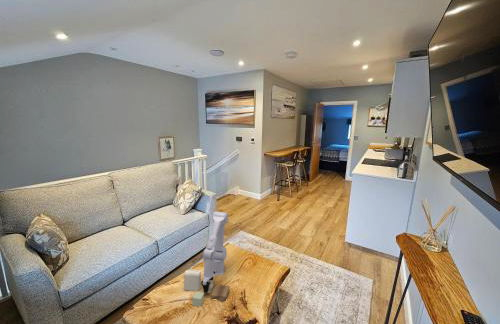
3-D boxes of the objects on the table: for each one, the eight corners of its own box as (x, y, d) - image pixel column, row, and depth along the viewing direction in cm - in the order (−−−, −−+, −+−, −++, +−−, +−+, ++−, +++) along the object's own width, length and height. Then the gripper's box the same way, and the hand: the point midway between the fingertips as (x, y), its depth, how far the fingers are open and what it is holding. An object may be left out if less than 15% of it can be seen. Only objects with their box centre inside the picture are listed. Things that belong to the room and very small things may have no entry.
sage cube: (192, 305, 114) (192, 297, 114) (195, 299, 119) (196, 291, 119) (200, 307, 114) (200, 299, 113) (203, 300, 119) (204, 292, 118)
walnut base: (210, 300, 119) (210, 295, 119) (215, 289, 128) (215, 284, 128) (225, 301, 118) (225, 296, 117) (229, 290, 127) (229, 286, 126)
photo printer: (183, 290, 125) (183, 272, 124) (185, 285, 130) (185, 267, 128) (199, 291, 125) (200, 272, 124) (201, 286, 130) (201, 268, 128)
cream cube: (202, 292, 125) (203, 284, 124) (205, 286, 130) (205, 279, 129) (210, 293, 124) (210, 286, 124) (213, 287, 129) (213, 280, 129)
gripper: (211, 275, 118) (210, 297, 119) (218, 261, 132) (217, 280, 134) (199, 274, 119) (199, 295, 120) (208, 260, 133) (207, 279, 134)
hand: (208, 287), depth 127 cm, fingers open, 7 cm apart
